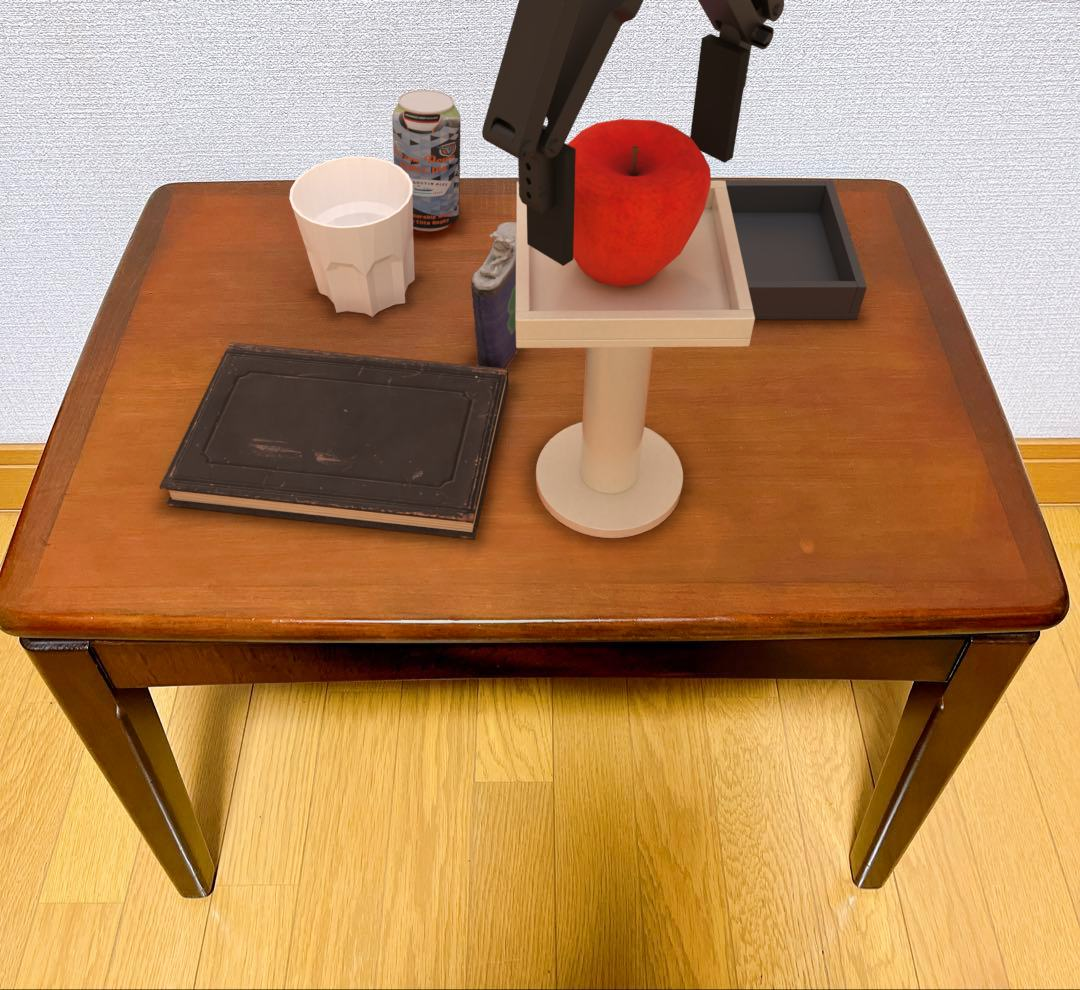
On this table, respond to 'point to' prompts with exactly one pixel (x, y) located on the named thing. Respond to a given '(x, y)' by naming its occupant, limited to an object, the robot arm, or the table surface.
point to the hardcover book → (342, 440)
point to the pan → (796, 250)
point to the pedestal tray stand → (626, 367)
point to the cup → (357, 231)
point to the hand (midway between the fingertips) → (634, 199)
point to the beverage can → (429, 155)
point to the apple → (635, 198)
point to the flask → (496, 300)
